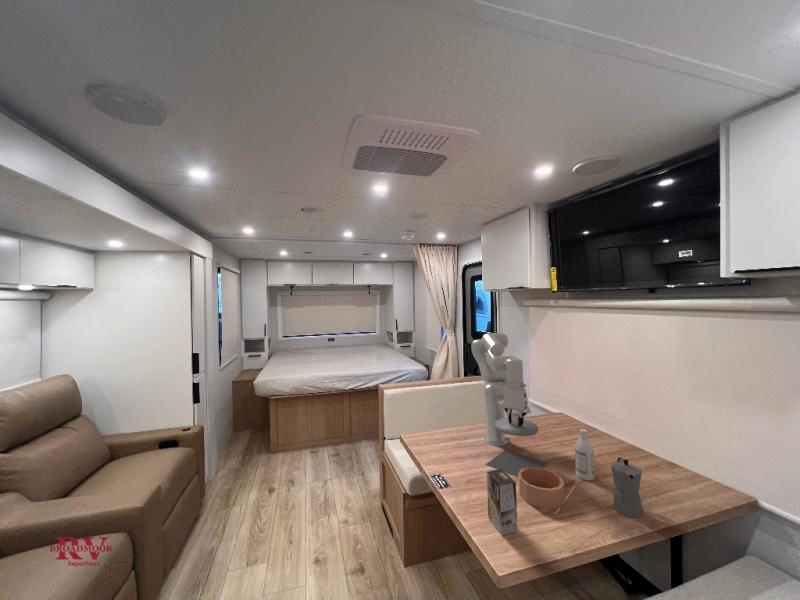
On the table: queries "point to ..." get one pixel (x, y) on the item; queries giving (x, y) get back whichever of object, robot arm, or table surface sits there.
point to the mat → (514, 462)
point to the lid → (516, 426)
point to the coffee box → (502, 501)
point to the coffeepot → (627, 488)
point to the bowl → (541, 488)
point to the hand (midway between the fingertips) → (515, 423)
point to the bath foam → (584, 457)
